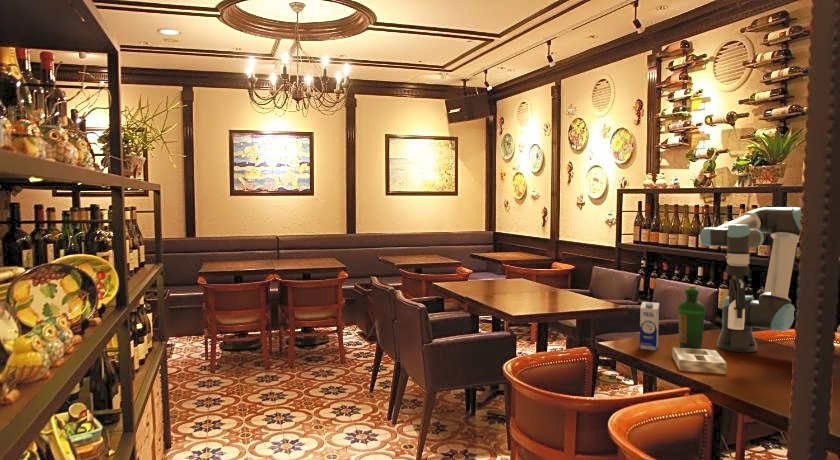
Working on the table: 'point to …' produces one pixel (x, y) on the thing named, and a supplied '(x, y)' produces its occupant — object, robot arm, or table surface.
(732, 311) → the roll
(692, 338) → the bottle
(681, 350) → the socket board
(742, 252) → the robot arm
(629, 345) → the table surface
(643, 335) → the milk carton
